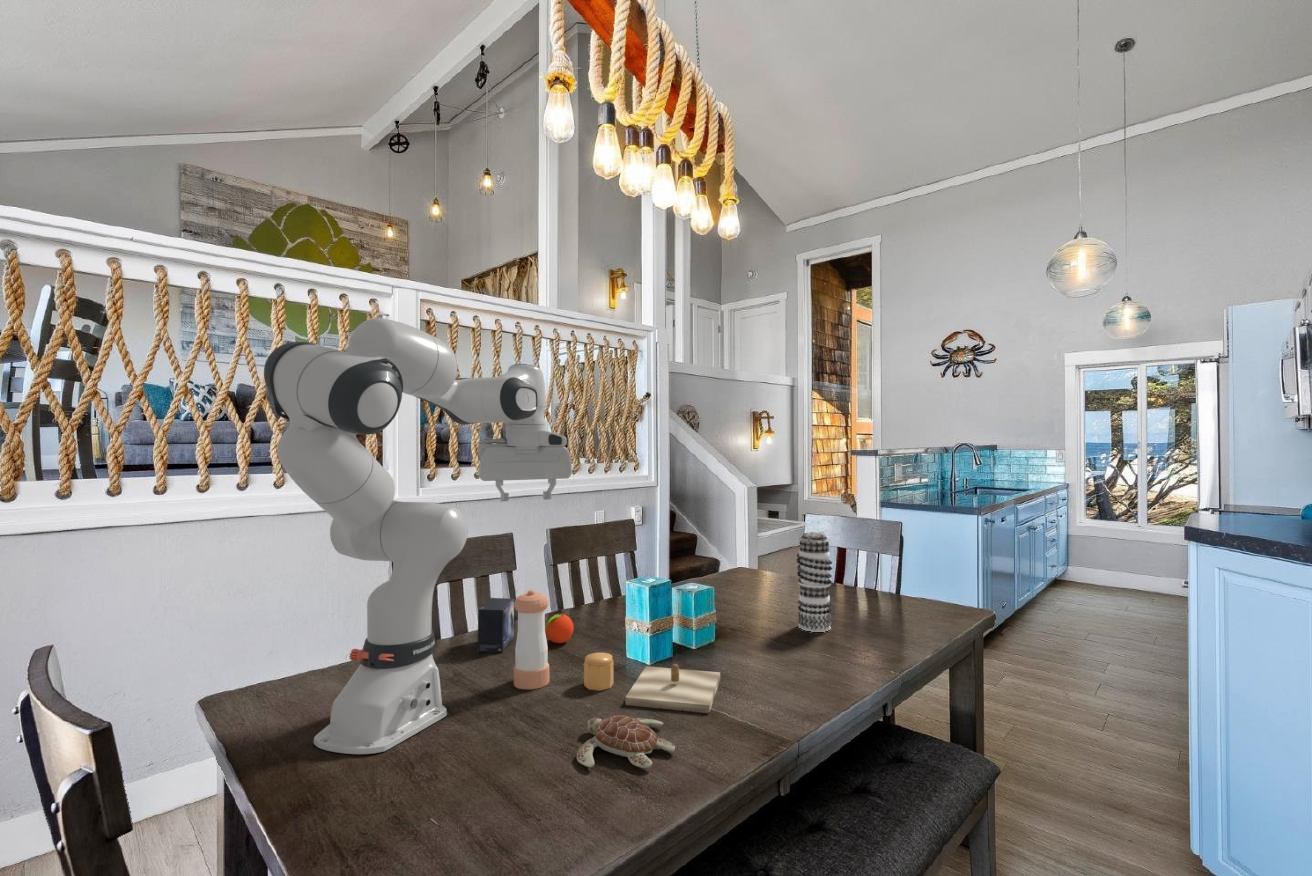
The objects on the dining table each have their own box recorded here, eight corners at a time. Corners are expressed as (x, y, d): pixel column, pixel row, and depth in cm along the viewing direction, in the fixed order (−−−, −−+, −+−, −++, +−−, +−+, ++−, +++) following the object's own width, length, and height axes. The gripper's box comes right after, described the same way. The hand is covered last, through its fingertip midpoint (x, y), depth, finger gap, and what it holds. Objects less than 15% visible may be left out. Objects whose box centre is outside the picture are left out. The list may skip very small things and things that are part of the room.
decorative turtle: (623, 715, 113) (623, 688, 112) (696, 743, 102) (696, 713, 102) (547, 755, 98) (547, 724, 98) (623, 793, 88) (623, 758, 88)
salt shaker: (541, 691, 122) (540, 595, 122) (507, 688, 124) (507, 593, 124) (554, 677, 129) (554, 586, 129) (522, 674, 131) (522, 585, 131)
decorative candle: (789, 625, 164) (789, 532, 164) (816, 620, 168) (816, 530, 168) (811, 635, 156) (811, 537, 156) (839, 630, 160) (839, 534, 160)
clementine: (556, 650, 146) (555, 620, 146) (536, 644, 150) (536, 615, 150) (579, 641, 152) (579, 613, 152) (560, 636, 156) (559, 608, 156)
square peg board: (709, 713, 112) (709, 683, 112) (625, 705, 116) (625, 676, 116) (720, 679, 128) (720, 653, 128) (646, 673, 131) (646, 647, 131)
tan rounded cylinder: (607, 691, 122) (607, 663, 122) (581, 689, 123) (580, 661, 123) (616, 680, 127) (615, 653, 127) (590, 678, 129) (590, 651, 129)
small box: (504, 653, 144) (503, 609, 144) (476, 653, 144) (476, 609, 144) (515, 638, 154) (515, 597, 154) (489, 638, 155) (489, 597, 155)
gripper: (479, 438, 129) (479, 503, 129) (573, 437, 137) (573, 499, 137) (476, 438, 135) (476, 501, 135) (566, 438, 143) (566, 497, 143)
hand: (526, 500), depth 136 cm, fingers open, 8 cm apart
